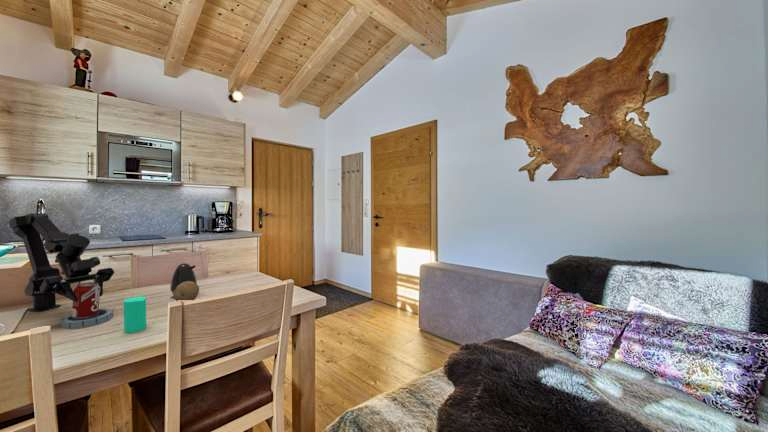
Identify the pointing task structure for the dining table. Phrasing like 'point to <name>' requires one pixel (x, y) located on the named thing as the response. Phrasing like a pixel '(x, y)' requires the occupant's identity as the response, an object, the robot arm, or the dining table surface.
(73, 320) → the dish
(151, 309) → the dining table surface
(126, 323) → the candle
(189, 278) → the dark rounded figure
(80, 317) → the soda can
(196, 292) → the natural sponge
